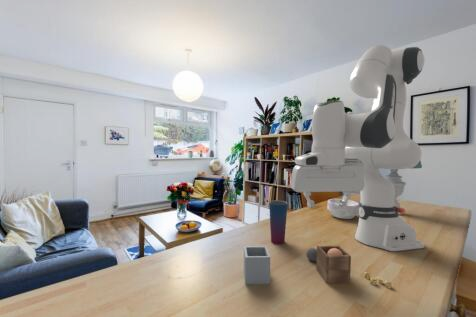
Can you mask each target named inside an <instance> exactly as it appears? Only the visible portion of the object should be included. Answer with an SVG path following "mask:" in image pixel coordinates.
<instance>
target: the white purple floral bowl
mask: <svg viewBox="0 0 476 317" xmlns="http://www.w3.org/2000/svg"><path fill="white" fill-rule="evenodd" d="M339 200H342V198H331V199H327V204H326V205H327V206H326V207H327V211H328V212H330V213H331V215H332V216H333V217H334V218H337V219H341V220H351V219H354V217H355V216H356V215H359V202H357V201H354V200H350V199H349V200H348V201H347V207H341V206H339Z"/></svg>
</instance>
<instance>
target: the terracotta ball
mask: <svg viewBox="0 0 476 317" xmlns="http://www.w3.org/2000/svg"><path fill="white" fill-rule="evenodd" d="M327 255H343V254H342V252H341V251H340V250H338V249H336V248H332V249H330V250H329V251H328V253H327Z"/></svg>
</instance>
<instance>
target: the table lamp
mask: <svg viewBox="0 0 476 317" xmlns="http://www.w3.org/2000/svg"><path fill="white" fill-rule="evenodd" d="M422 167H423V166H422V161H421V160H420V161H419V163H418V164H417V165H416V166H415V167H413V168H412V169H422ZM389 171H390V173H388V174H386V175H385V177H386V179H387V180H389V181H390V182H391V183H392V184H393V185H394V188H395V197H394V206H396V207H397V208H399V207H400V205H401V204H400V203H399V202H398V199H397V198H398V197H400V196H401V195H402V194H403V193H404V192H405V187H406V185H407V183H406V182H405V181H403V180H402V179H403V176H402V175H399V173H398V171H399V169H389ZM398 215H399V216H400V215H401V216H402V215H403V214H401V213H399V212H398Z"/></svg>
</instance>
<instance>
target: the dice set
mask: <svg viewBox="0 0 476 317" xmlns="http://www.w3.org/2000/svg"><path fill="white" fill-rule="evenodd" d="M363 278H364V279H366V280H369V284H370V285H371V286H377V283H378V284H379V285H384V287H385V288H387V289H392V282H391V281H388V280H385V281H384V279H383V278H382V277H380V276H376V277H375V276H373V277H371V273H370V272H364V273H363Z"/></svg>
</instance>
